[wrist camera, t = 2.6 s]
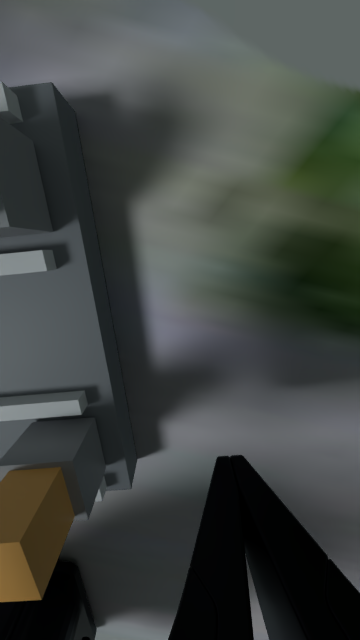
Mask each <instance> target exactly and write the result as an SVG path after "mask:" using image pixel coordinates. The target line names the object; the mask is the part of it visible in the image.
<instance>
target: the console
mask: <svg viewBox="0 0 360 640" xmlns="http://www.w3.org/2000/svg"><path fill="white" fill-rule="evenodd" d="M0 117H1V118H2V119H3V120H5V121H6V122H8V123H9V124H10V125H12V126H13V127H14V128H16V129H17V130H19V131H20V132H21V133H23V134H24V135H25V136H27V137H28V138H30V139H31V140H32V141H33V144H34V148H35V153H36V157H37V162H38V166H39V171H40V175H41V180H42V184H43V189H44V193H45V197H46V202H47V206H48V211H49V215H50V220H51V224H52V229H53V232H50V233H41V234H31V235H21V236H12V237H2V238H0V459H1V458H2V457H3V456H4V455H5V454H6V452H7V451H8V450H9V449H10V448H11V447H12V445H13V444H14V443H15V442H16V441H17V440H18V438H19V437H20V436H21V435H22V434H23V433H24V431H25V430H26V429H27V428H28V427H29V426H30V424H31V423H32V422H41V421H54V420H66V419H78V418H91V417H95V421H96V425H97V430H98V434H99V438H100V443H101V447H102V452H103V456H104V461H105V465H106V470H105V473H104V475H103V478H102V481H101V484H100V487H99V490H98V493H97V496H96V499H95V502H96V501H103V497H104V494H105V491H111V490H125V489H131V487H132V482H133V478H134V473H135V468H136V463H137V456H136V451H135V445H134V439H133V434H132V428H131V423H130V417H129V411H128V406H127V400H126V395H125V389H124V383H123V378H122V372H121V367H120V361H119V356H118V350H117V344H116V339H115V333H114V328H113V322H112V316H111V311H110V305H109V300H108V294H107V288H106V283H105V277H104V272H103V266H102V261H101V255H100V249H99V244H98V238H97V233H96V227H95V221H94V216H93V210H92V205H91V199H90V193H89V188H88V182H87V177H86V171H85V166H84V160H83V154H82V149H81V143H80V138H79V132H78V126H77V121H76V115H75V111H74V110H73V109H72V108H71V106H70V105H69V104H68V102H67V101H66V100H65V99H64V97H63V96H62V95H61V94H60V92H59V91H58V90H57V88H56V87H55V86H54V85H53V83H52V82H50V83H42V84H34V85H26V86H18V87H10V88H8V87H7V86H6V85H5V84H4V83H3V82H0Z"/></svg>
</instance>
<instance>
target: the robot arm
mask: <svg viewBox="0 0 360 640" xmlns="http://www.w3.org/2000/svg"><path fill="white" fill-rule="evenodd" d="M245 554H246V557H247V561H248V564H249V568H250V572H251V575H252V579H253V583H254V586H255V590H256V593H257V597H258V601H259V604H260V608H261V611H262V615H263V619H264V622H265V626H266V630H267V633H268V637H269V640H360V593H359V592H358V590H357V589H356V588H355V587H354V586H353V585H352V584H351V582H350V581H349V580H348V579H347V578H346V577H345V576H344V574H343V573H342V572H341V571H340V570H339V568H338V567H337V566H336V565H335V564H334V563H333V561H332V560H331V559H328V556H327V554H326V553H325V552H324V551H323V550H322V549H321V547H320V546H319V545H318V544H317V543H316V541H315V540H314V539H313V538H312V537H311V536H310V534H309V533H308V532H307V531H306V530H305V528H304V527H303V526H302V525H301V524H300V523H299V521H298V520H297V519H296V518H295V517H294V515H293V514H292V513H291V512H290V511H289V510H288V508H287V507H286V506H285V505H284V504H283V502H282V501H281V500H280V499H279V498H278V497H277V495H276V494H275V493H274V492H273V491H272V489H271V488H270V487H269V486H268V485H267V484H266V482H265V481H264V480H263V479H262V478H261V476H260V475H259V474H258V473H257V472H256V471H255V469H254V468H253V467H252V466H251V465H250V463H249V462H248V461H247V460H246V459H245V458H244V456H242V455H232V456H230V457H229V456H219V457H217V459H216V463H215V467H214V471H213V475H212V479H211V483H210V487H209V491H208V495H207V499H206V503H205V507H204V511H203V515H202V519H201V523H200V527H199V531H198V535H197V539H196V543H195V547H194V551H193V555H192V559H191V563H190V568H189V570H188V574H187V578H186V582H185V586H184V590H183V593H182V597H181V600H180V604H179V607H178V611H177V614H176V617H175V620H174V623H173V626H172V629H171V632H170V635H169V638H168V640H254V638H253V628H252V617H251V607H250V597H249V587H248V577H247V567H246V557H245ZM95 635H96V626H95V623H94V619H93V616H92V613H91V609H90V606H89V603H88V600H87V596H86V593H85V590H84V587H83V583H82V580H81V577H80V573H79V570H78V567H77V565H76V564H74V563H72V562H57V563H56V565H55V568H54V570H53V573H52V575H51V578H50V580H49V583H48V585H47V588H46V590H45V593H44V595H43V598H42V600H31V601H13V602H0V640H95Z"/></svg>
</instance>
